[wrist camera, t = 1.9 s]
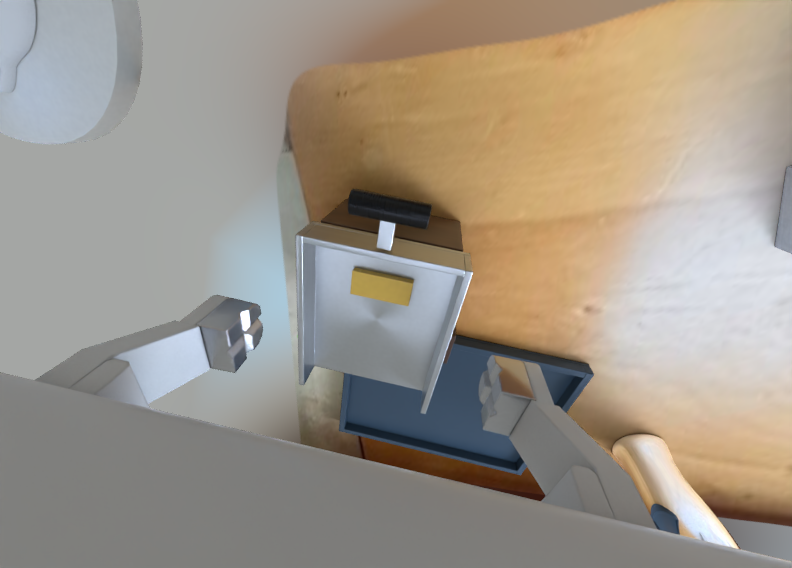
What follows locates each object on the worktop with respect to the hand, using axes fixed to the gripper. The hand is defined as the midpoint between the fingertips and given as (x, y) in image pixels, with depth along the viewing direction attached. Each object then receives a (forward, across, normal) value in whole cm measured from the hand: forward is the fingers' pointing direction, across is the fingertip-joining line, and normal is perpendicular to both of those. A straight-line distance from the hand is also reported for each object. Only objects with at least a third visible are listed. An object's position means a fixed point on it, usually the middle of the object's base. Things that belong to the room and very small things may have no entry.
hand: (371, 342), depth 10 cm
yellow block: (+12, +1, +5) cm, 13 cm away
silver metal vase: (+20, -35, +26) cm, 48 cm away
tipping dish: (+13, +1, +7) cm, 15 cm away
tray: (+20, -9, +25) cm, 33 cm away
